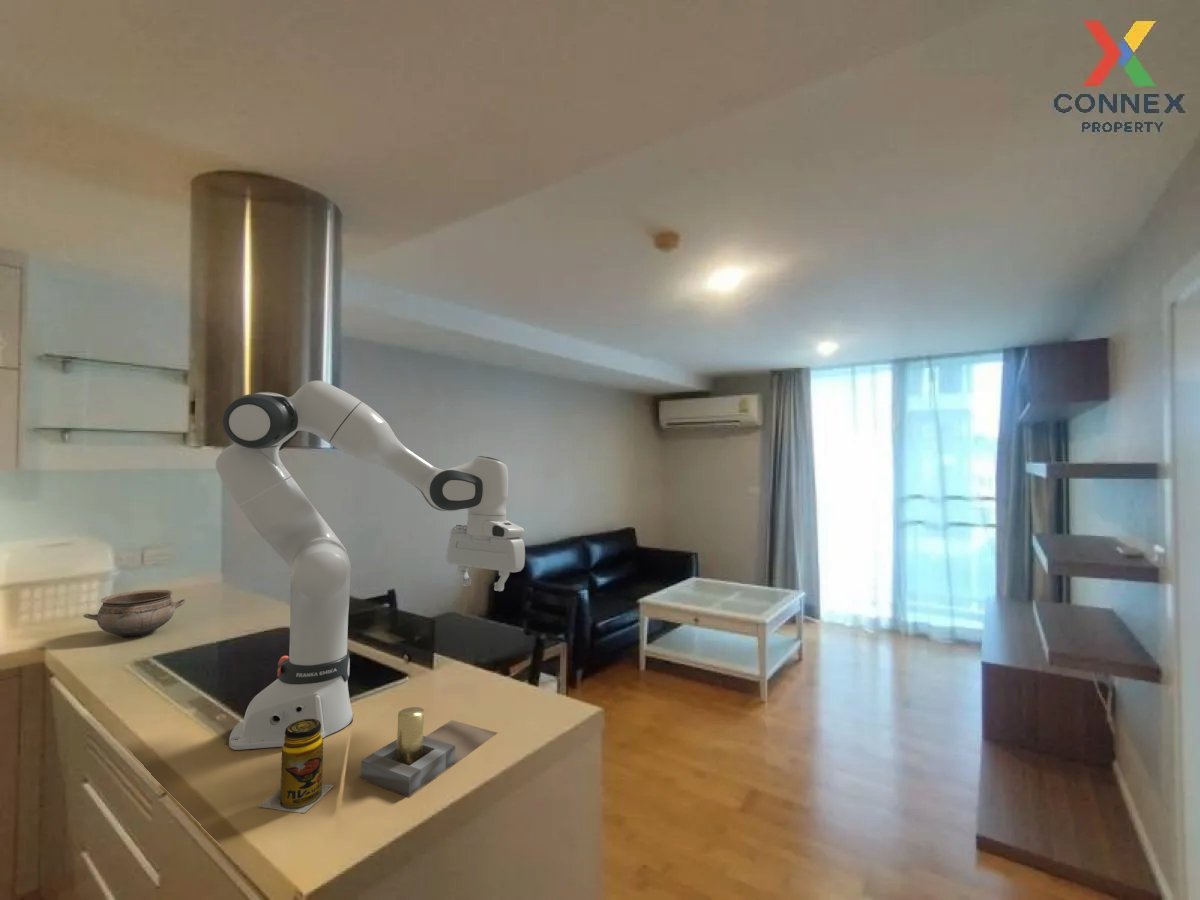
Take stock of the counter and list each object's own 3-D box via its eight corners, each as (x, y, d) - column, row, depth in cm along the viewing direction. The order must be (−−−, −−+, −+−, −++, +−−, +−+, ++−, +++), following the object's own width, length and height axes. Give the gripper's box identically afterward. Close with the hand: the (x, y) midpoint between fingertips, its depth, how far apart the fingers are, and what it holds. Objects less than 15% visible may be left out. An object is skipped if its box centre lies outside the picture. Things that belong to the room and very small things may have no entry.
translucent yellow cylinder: (396, 778, 93) (398, 719, 93) (395, 765, 97) (397, 709, 97) (422, 773, 94) (425, 715, 95) (420, 760, 99) (423, 705, 99)
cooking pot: (177, 620, 187) (178, 585, 187) (192, 631, 175) (193, 594, 175) (77, 637, 168) (79, 598, 168) (87, 651, 155) (88, 609, 156)
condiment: (304, 814, 85) (307, 737, 85) (257, 807, 86) (259, 732, 87) (334, 786, 92) (336, 716, 92) (290, 781, 93) (292, 711, 94)
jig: (408, 803, 88) (409, 779, 88) (357, 784, 93) (357, 760, 93) (497, 737, 109) (498, 717, 109) (451, 724, 114) (452, 705, 115)
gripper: (442, 524, 126) (437, 584, 124) (514, 530, 116) (509, 595, 115) (460, 523, 131) (456, 581, 130) (530, 530, 122) (526, 591, 121)
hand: (482, 588), depth 123 cm, fingers open, 8 cm apart
